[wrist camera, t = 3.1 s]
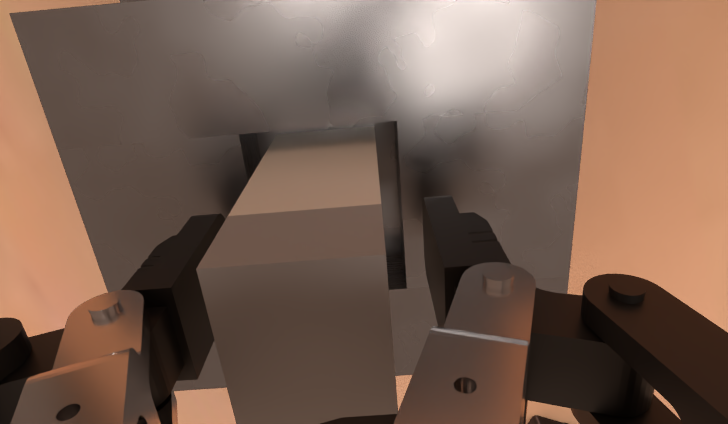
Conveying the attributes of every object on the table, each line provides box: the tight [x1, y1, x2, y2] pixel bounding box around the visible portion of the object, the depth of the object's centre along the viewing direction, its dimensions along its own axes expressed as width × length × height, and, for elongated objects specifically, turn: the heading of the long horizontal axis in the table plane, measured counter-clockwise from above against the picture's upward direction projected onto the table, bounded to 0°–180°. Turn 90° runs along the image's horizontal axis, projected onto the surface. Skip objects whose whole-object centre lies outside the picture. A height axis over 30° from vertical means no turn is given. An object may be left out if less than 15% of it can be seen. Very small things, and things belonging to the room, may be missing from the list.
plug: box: [196, 126, 398, 424], centre depth 12 cm, size 4×3×8 cm
